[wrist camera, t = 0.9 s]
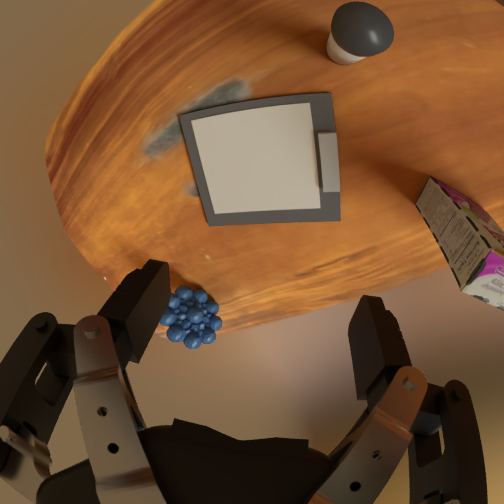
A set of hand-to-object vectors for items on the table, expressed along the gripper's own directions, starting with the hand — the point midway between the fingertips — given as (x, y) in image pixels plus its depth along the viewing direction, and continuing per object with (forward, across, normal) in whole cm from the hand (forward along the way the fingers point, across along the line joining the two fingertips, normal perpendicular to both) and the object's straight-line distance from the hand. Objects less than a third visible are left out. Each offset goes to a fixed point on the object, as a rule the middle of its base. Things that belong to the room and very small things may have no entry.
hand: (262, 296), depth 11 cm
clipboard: (+24, +2, 0) cm, 24 cm away
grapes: (+28, +10, +25) cm, 39 cm away
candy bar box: (+22, -24, -1) cm, 32 cm away
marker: (+22, -5, -15) cm, 27 cm away
